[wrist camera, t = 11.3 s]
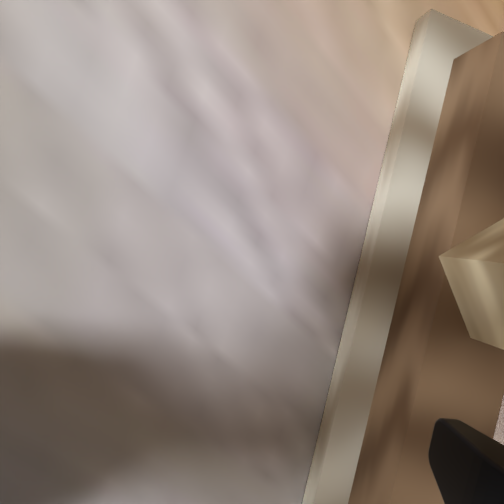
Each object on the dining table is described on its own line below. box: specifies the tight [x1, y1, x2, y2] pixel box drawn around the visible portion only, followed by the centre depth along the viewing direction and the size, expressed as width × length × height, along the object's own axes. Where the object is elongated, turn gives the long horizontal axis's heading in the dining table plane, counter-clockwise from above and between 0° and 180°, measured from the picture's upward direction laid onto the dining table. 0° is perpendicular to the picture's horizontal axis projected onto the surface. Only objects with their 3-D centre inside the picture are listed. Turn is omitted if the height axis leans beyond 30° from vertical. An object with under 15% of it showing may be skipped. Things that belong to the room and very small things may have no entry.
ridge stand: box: [302, 9, 504, 504], centre depth 20 cm, size 30×9×4 cm, turn 167°
